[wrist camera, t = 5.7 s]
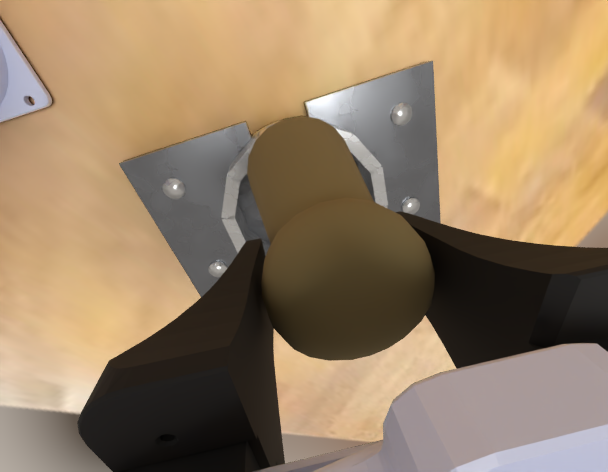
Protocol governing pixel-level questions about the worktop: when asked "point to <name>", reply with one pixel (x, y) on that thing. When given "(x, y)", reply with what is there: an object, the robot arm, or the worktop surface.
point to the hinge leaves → (236, 187)
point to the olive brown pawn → (333, 247)
